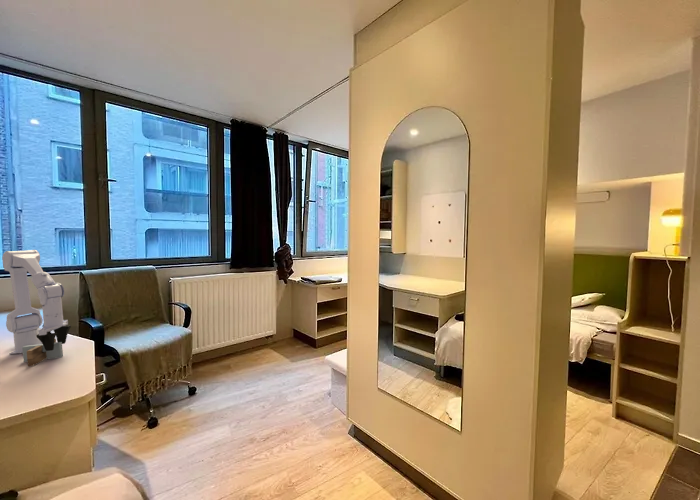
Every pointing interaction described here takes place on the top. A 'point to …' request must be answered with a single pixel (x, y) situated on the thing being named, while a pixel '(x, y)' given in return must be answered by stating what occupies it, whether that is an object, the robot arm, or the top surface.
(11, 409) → the top surface
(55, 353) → the pale green bar
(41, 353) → the walnut plate
